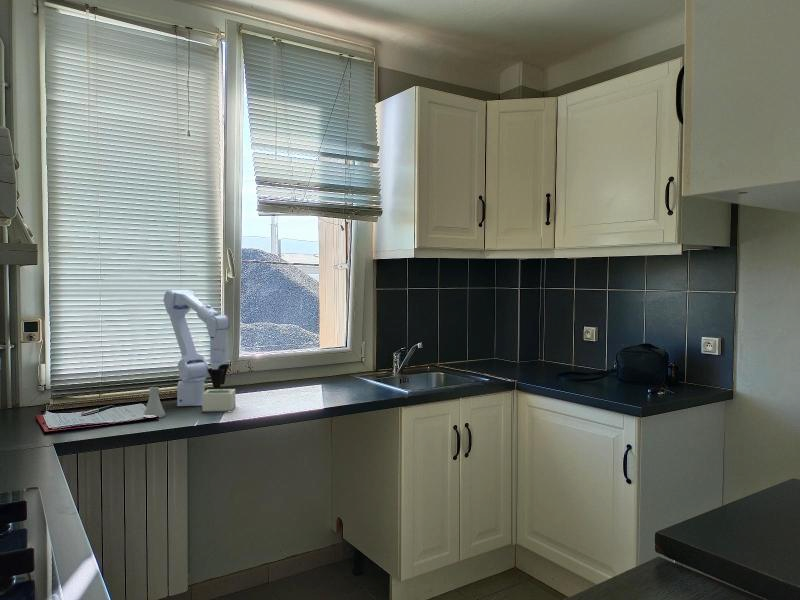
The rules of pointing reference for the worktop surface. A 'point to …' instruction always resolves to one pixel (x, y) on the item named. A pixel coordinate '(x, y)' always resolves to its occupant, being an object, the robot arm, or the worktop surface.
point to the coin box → (218, 400)
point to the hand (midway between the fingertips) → (219, 386)
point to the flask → (154, 404)
